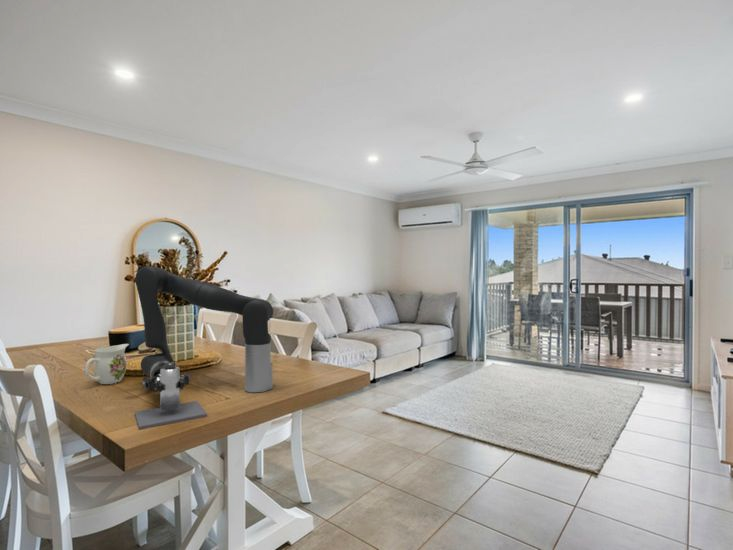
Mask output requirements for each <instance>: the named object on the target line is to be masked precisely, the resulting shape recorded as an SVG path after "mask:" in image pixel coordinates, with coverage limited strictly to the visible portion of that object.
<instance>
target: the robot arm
mask: <svg viewBox="0 0 733 550" xmlns="http://www.w3.org/2000/svg"><path fill="white" fill-rule="evenodd" d="M134 281H135V285H136V290H137V293H138V294H137V295H138V299H139V301H140V307H141V311H142V312H141V313H142V319H143V325H144V328H143V329H144V342H145V347H146V348H149V349H158V350H160V352H161V353H155V354H148V355H145V356H144V357H143V358H142V359H141V362H140V369H141V371H142V373H143V374H144V375H145V376H148V377H150V378H147V377H143V378H142V387H143V388H144V389H146V390H148V391H151V390H153V389H154V390H155V391H156V392H158V393H160V392H162V384H161V383H160V369H161V368H164V367H165V363H168V362H174V358H173V356H172V353H171V351H170V349H169V346H168V341H167V327H166V321H165V318H164V316H163V313H162V310H161V308H160V305H159V299H158V293H164V294H170V295H173V296H177V297H179V298H181V299H183V300H184V301H186V302H188V303H189V304H192V305H194V306H197V307H200V308H204V309H206V310H211V311H215V312H224V313H225V312H226V313H232V314H236V315H240V316H242V334H243V338H244V390H245V391H246V392H247V393H263V392H267V391H270V390H272V389H273V388H274V387H273V384H274V383H273V381H274V379H273V378H274V376H273V373H274V372H273V370H274V368H273V366H274V365H273V363H272V362H271V361H272V359H271V358H272V354H271V348H272V347H271V346H272V345H271V343H272V342H271V335H270V333H269V325H268V324H269V323H268V322H269V321H270V320H271V319H272V317H273V314H274V308H273V306H272V304H271V303H270V302H269V301H267V300H265V299H261V298H257V297H256V298H255V297H251V296H246V295H242V294H240V293H236V292H234V291H232V290H229V289H225V288H223V287H221V286H218V285H215V284H212V283H208V282H205V281H201V280H197V279H191V278H186V277H182V276H179V275H177V274H175V273H172V272H170V271H168V270H166V269H164V268H161V267H156V266H149V265H148V266H147V265H144V266H143V267H140V268H139V269H138V270H137V272H136V274H135V277H134ZM189 384H190V372H189V371H186V372H185V373H183V374H181V373H179V390H183V389H184V388H185V386H188V385H189Z"/></svg>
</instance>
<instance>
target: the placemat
mask: <svg viewBox="0 0 733 550" xmlns="http://www.w3.org/2000/svg"><path fill="white" fill-rule="evenodd" d="M134 415H135V420H136V422H137V426H138V430H143V429H149V428H148V427H150V428H154V427H159V426H164V425H169V424H174V423H180V422H184V421H190V420H195V419H199V418H205V417H208V412H207V411H205V409H204V408H203V406H202V405H201V404H200V403H199V400H194V401H189V402H183V403H179V408H177V409H174V410H169V411H164V410H161V409H160V406H159V407H154V408H149V409H142V410H136V411H135V412H134Z"/></svg>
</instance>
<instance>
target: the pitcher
mask: <svg viewBox="0 0 733 550" xmlns="http://www.w3.org/2000/svg"><path fill="white" fill-rule="evenodd" d="M129 345H130V344H129V343H122V344H117V345H110V346H104V347H99V348H97V349H96V348H95V349H94V350H93V352H94V356H95V357H93V358H92V357H91V358H89V359H88V360H87V361H86V363H85V365H84V374H85V376H86V378H87V379H89V380H91V381H97V382H98V383H99V384H100V385H102V384H110V385H114V384H113V383H115V384H118V383H120V382H121V381H122V379H123V378H124V376H125V374H126V370H127V365H128V364H127V361H128V360H127V358H126V354H125V352H126V348H127V347H128V346H129ZM92 363H93V366H92V367H93V374H94V376H93V375H91V374H90V366H91V364H92ZM117 382H118V383H117Z"/></svg>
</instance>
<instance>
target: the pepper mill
mask: <svg viewBox="0 0 733 550" xmlns="http://www.w3.org/2000/svg"><path fill="white" fill-rule="evenodd" d="M179 374H180V367H179V366H176V362H175V361H173V362H168V363H165V367H164V368H161V369H160V383H161V384H162V392H159V393H160V401H159V403H160V405H159V407H160V409H161V410H164V411H169V410H174V409H177V408H179V404H180V388H179Z"/></svg>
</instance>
